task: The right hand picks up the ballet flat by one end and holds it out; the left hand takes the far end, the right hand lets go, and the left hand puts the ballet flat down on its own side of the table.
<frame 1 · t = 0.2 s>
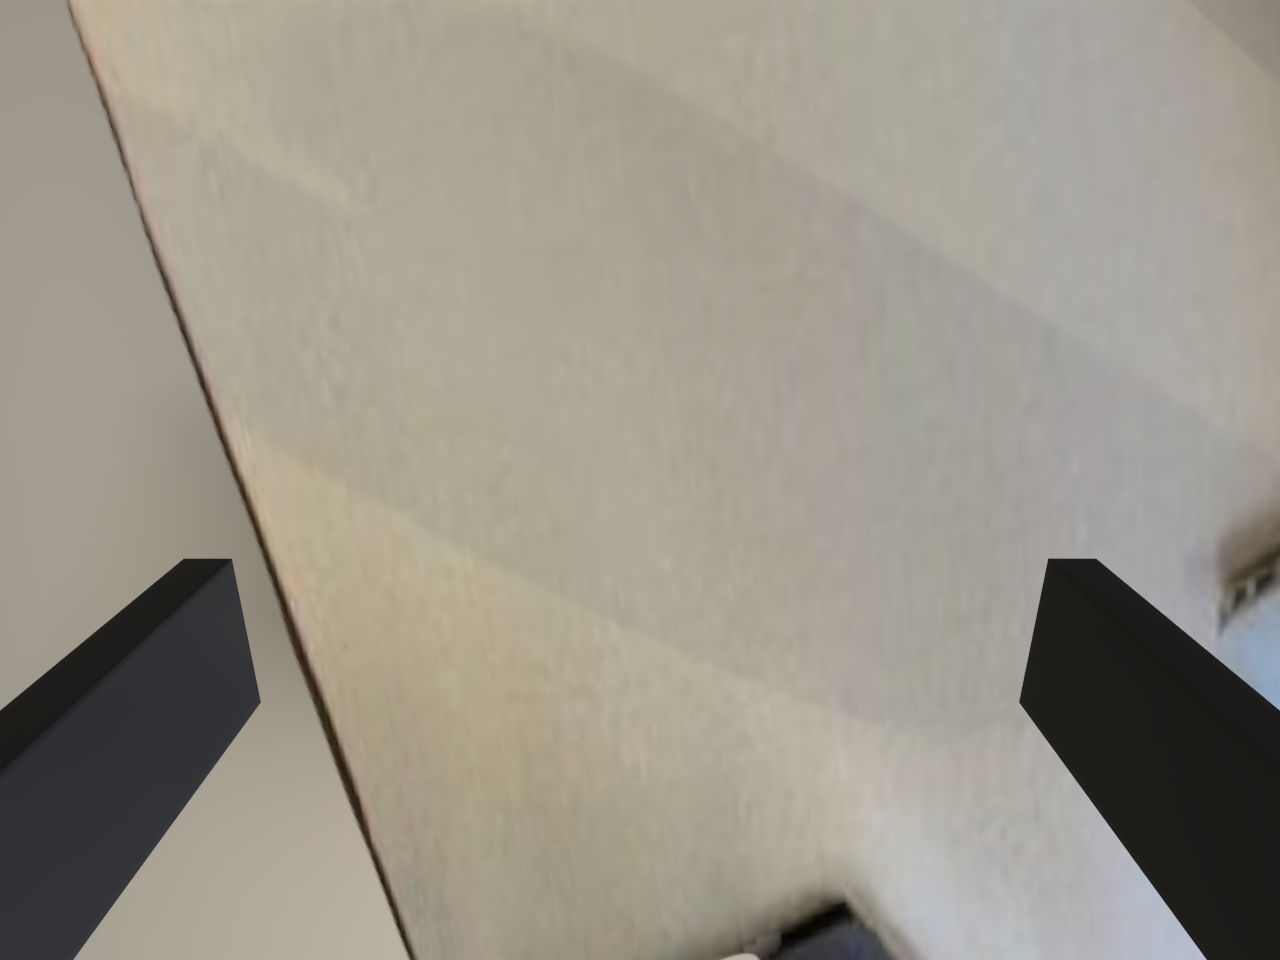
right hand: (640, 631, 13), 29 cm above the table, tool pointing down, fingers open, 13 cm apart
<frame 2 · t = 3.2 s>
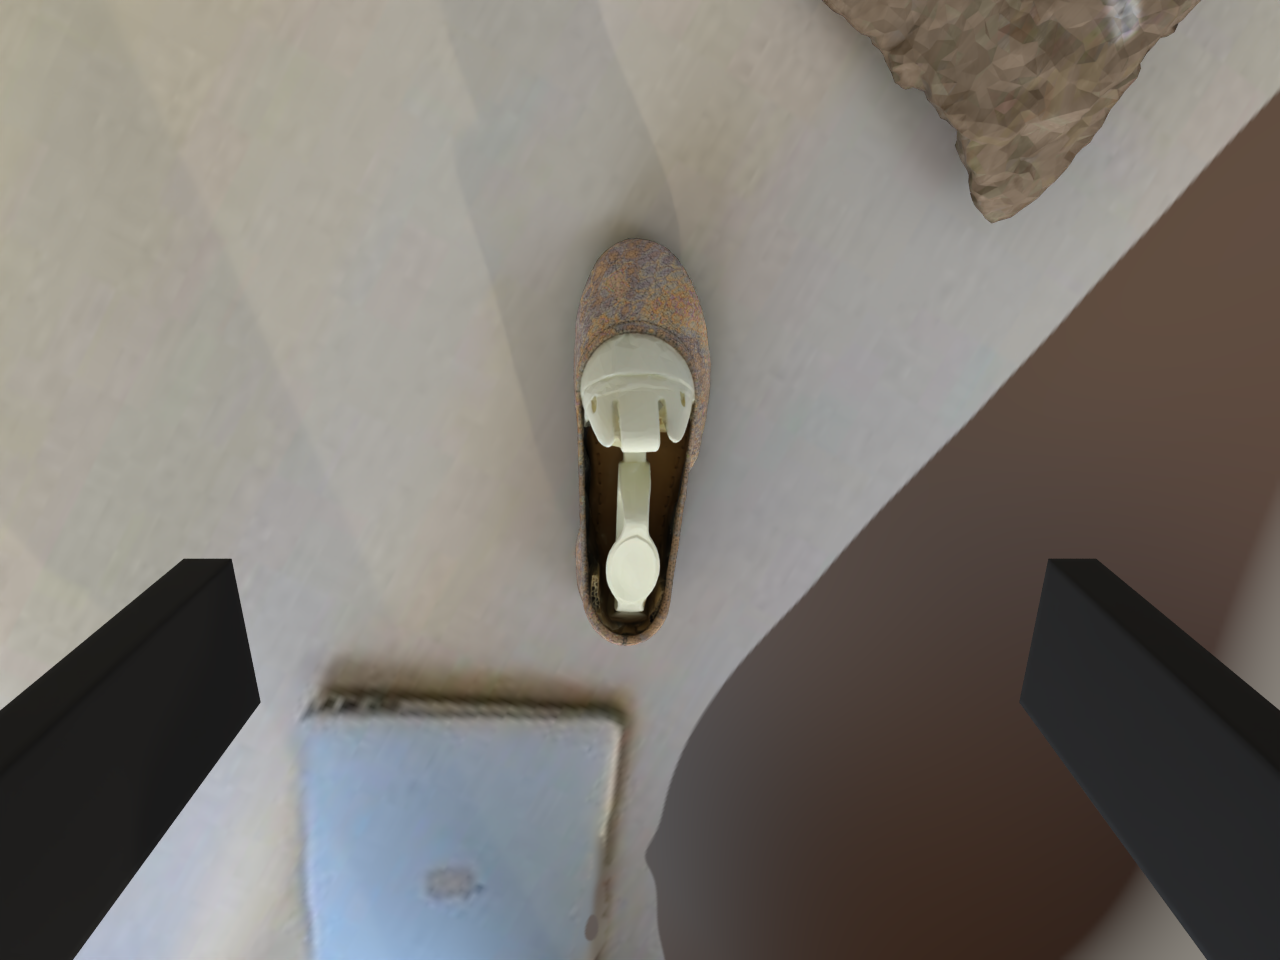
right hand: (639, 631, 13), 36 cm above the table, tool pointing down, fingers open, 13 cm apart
ballet flat: (640, 438, 50), on the table
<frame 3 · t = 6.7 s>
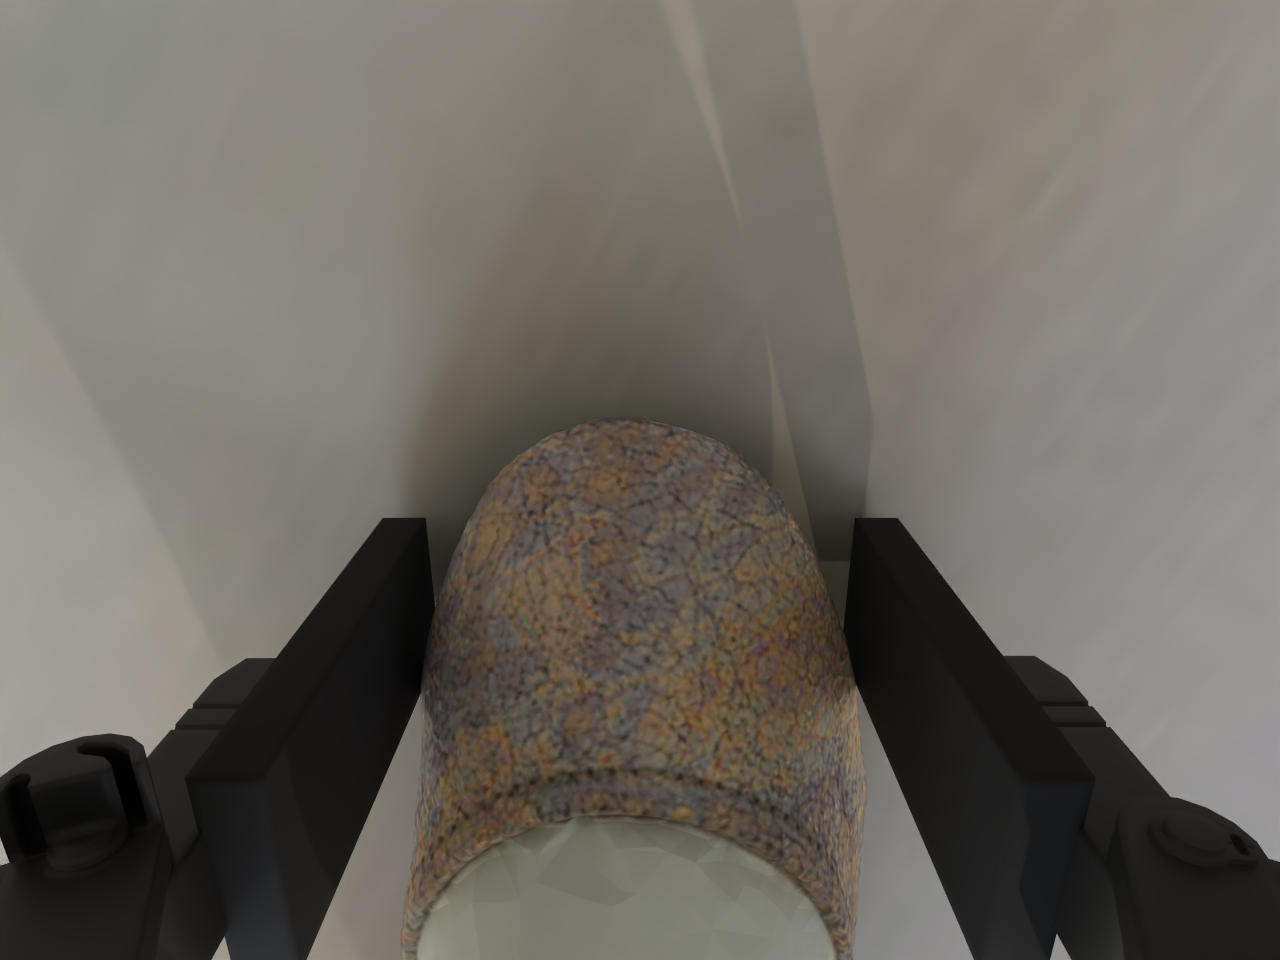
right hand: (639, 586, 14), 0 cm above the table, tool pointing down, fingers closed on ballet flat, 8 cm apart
ballet flat: (638, 924, 18), on the table, touching right hand
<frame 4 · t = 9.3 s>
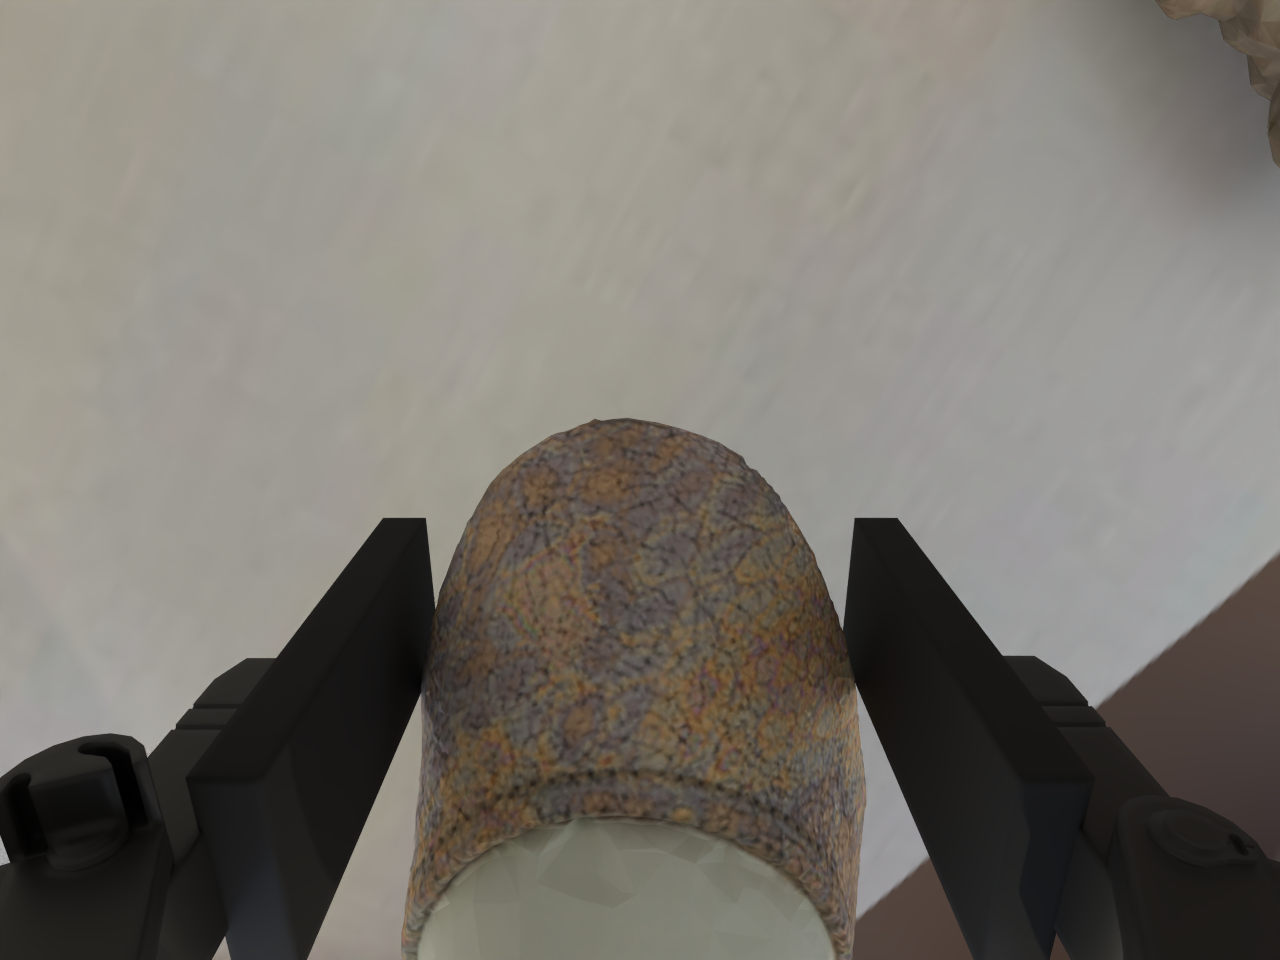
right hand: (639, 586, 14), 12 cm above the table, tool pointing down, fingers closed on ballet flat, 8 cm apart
ballet flat: (638, 923, 18), point 12 cm above the table, touching right hand
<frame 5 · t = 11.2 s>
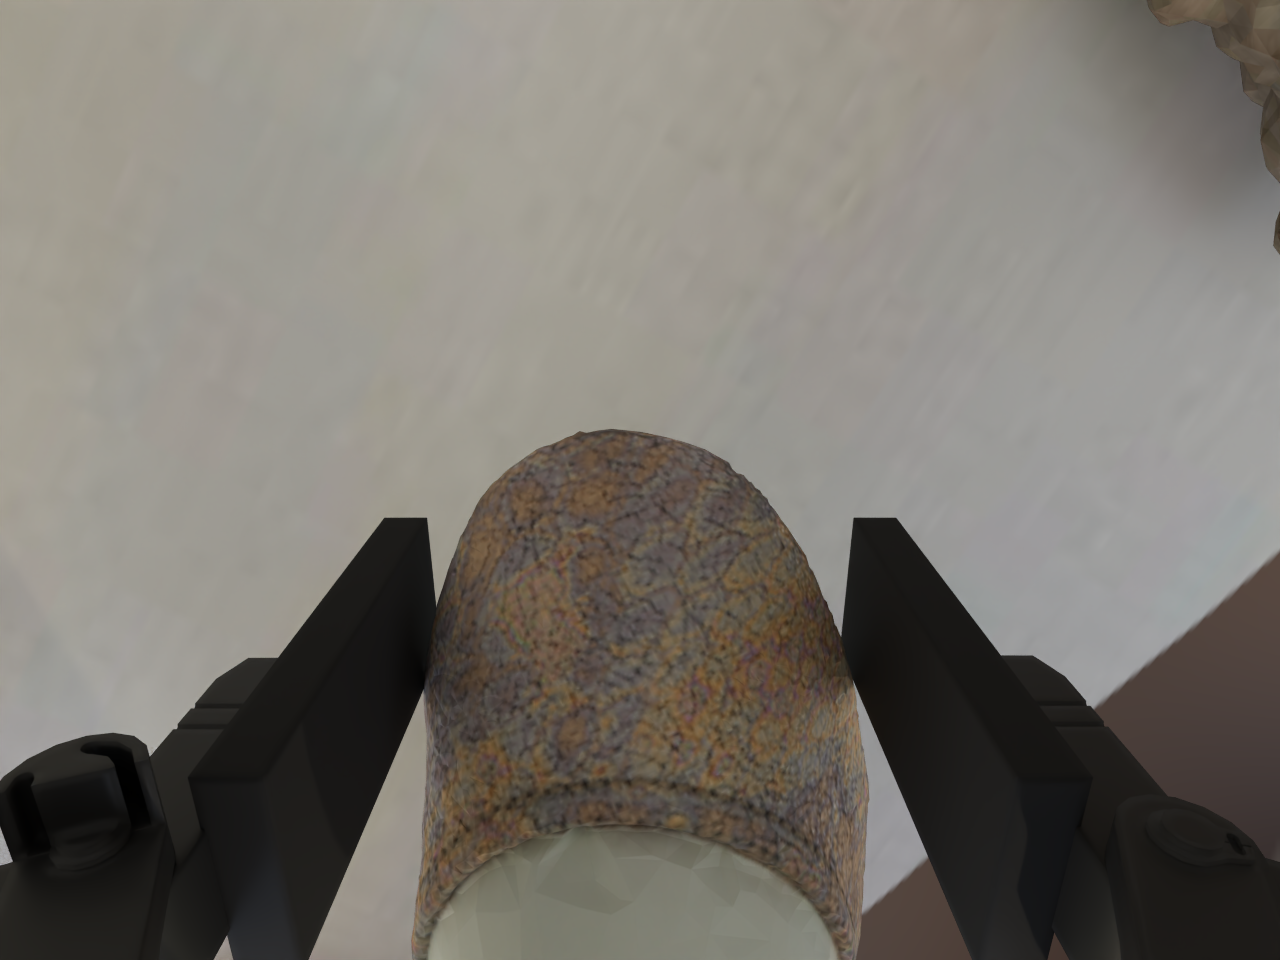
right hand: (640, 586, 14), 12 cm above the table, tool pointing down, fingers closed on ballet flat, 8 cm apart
ballet flat: (653, 918, 18), point 12 cm above the table, touching right hand, left hand
when the right hand's fingers open (12 cm above the table, at t = 12.0 s): ballet flat stays where it is, held by the left hand.
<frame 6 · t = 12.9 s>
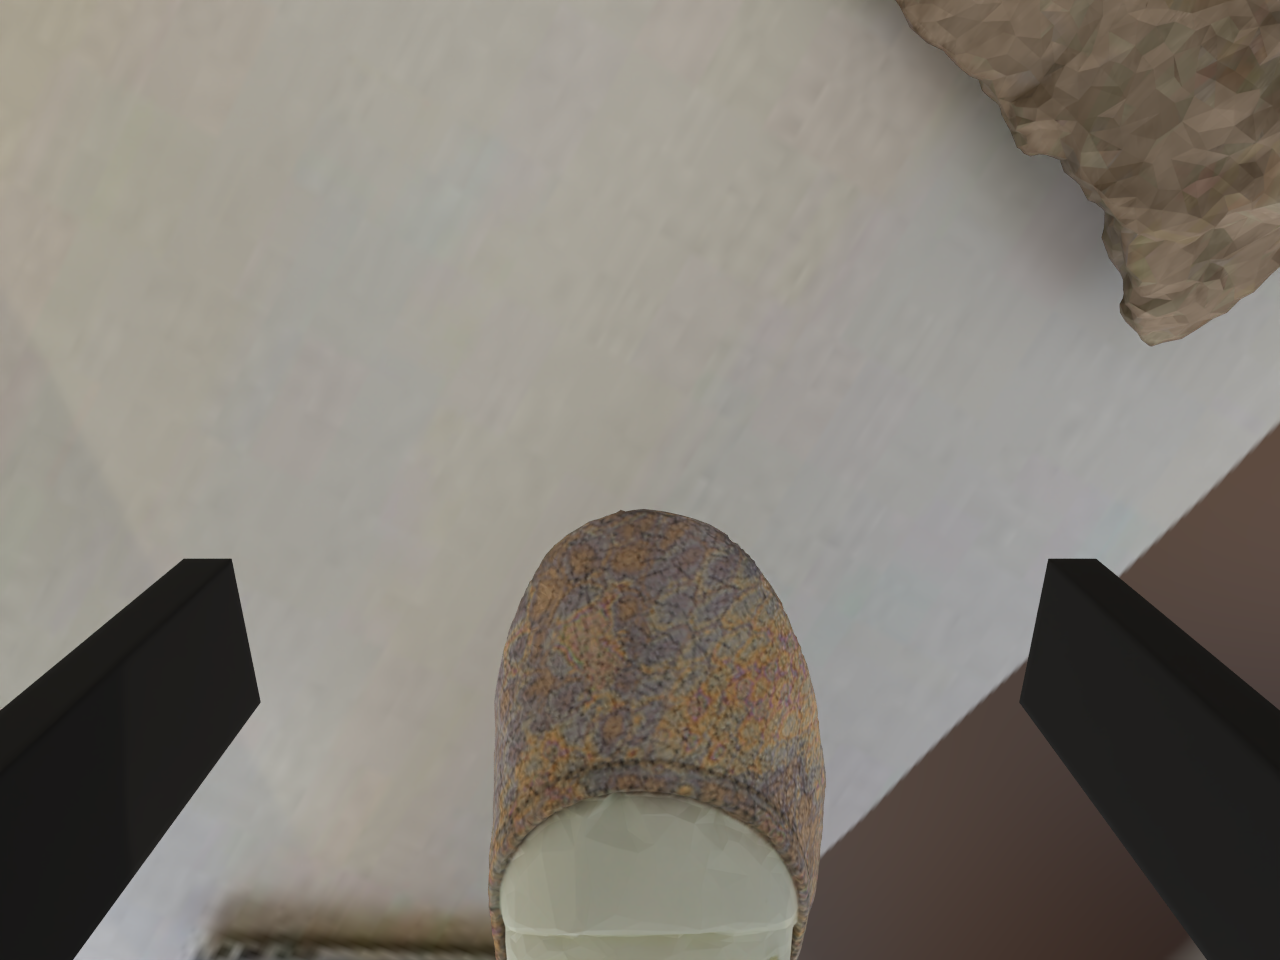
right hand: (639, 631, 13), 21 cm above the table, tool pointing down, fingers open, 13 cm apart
ballet flat: (656, 883, 23), point 14 cm above the table, touching left hand
when the left hand's fingers open (2 cm above the table, at t = 15.9 s): ballet flat drops 2 cm, on the table.
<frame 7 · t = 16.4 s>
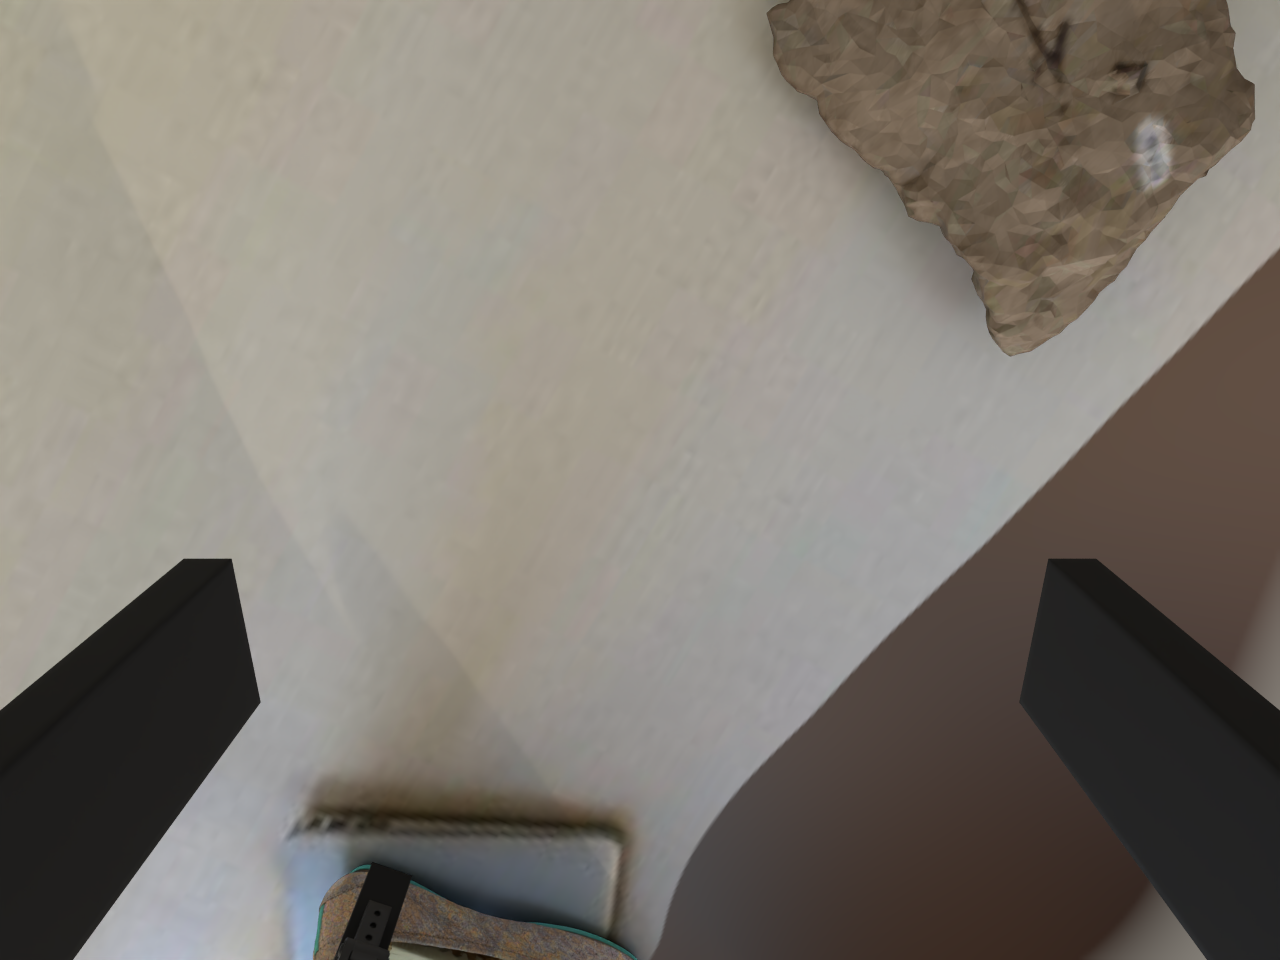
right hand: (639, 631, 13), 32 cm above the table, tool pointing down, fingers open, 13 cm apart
ballet flat: (491, 932, 59), on the table
stone: (984, 101, 39), on the table
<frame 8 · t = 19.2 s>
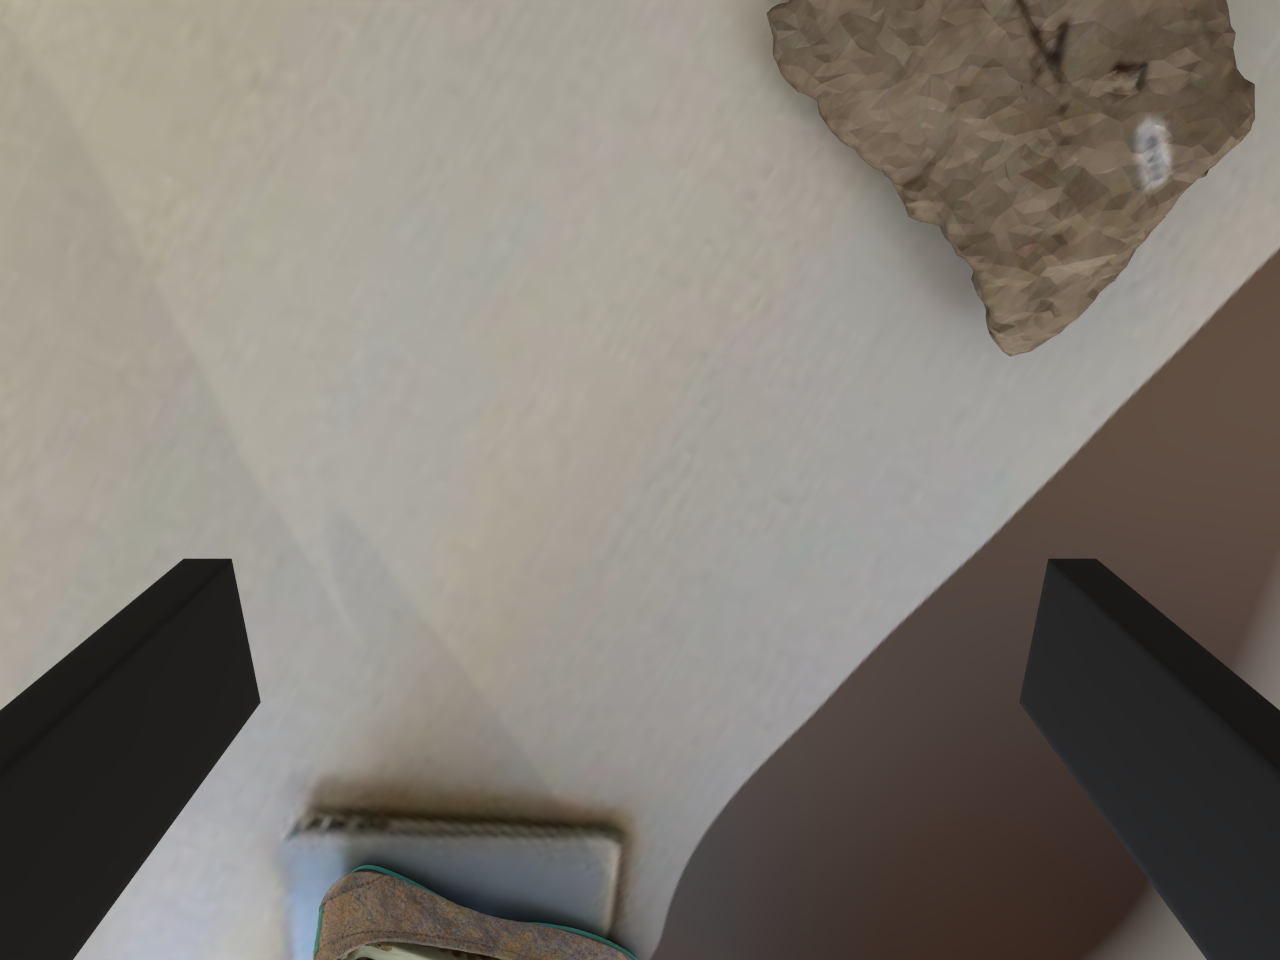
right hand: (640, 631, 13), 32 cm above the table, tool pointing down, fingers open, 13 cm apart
ballet flat: (491, 932, 59), on the table
stone: (984, 101, 39), on the table
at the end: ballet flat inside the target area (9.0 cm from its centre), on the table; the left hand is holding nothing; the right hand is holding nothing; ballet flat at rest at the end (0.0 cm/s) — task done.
